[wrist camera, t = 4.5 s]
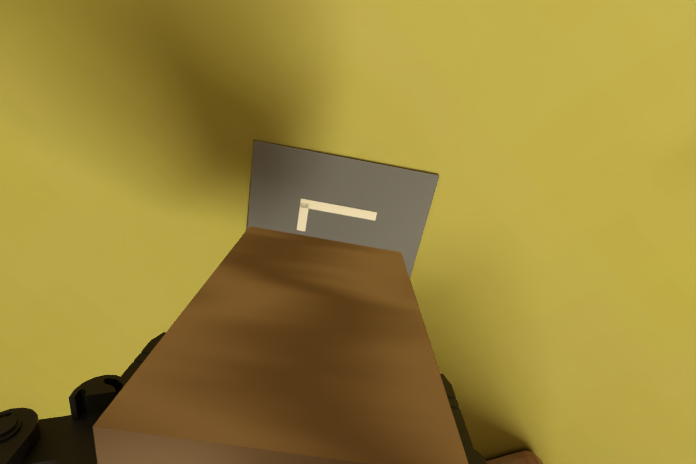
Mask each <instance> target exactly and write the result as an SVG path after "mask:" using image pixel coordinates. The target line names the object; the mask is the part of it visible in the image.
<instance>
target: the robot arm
mask: <svg viewBox="0 0 696 464" xmlns="http://www.w3.org/2000/svg"><path fill="white" fill-rule="evenodd" d="M165 334H166V333H165V332H163V333H162V334H160V335H159V336H157V337H156V338H154V339H152V340H151V341H150V342H149V343H148V344H147V346H146V347H145V348H144V349H143V350H142V352H141V354H139V355H138V357H137V358H136V359H135V360H134V363H132V364H131V365H130V366H129V367H128V369H127V370H126V371H125V372H124V374H123V375H122V376H121V377H120V376H117V375H103V376H99V377H95V378H92V379H90V380H88V381H86V382H84V383H82V384H81V385H80V386H79V387H77V388H76V389H75V390H74V391H73V392H72V394H71V395H70V397H69V402H70V408H71V414H72V415H68V416H63V417H55V418H48V419H41V420H38V415H37V414H36V413H35V412H34V411H33V410H32V409H27V408H14V409H9V410H6V411H3V412H0V464H98V463H97V455H96V448H95V440H94V433H93V425H94V424H95V423H96V421H97V420H98V419H99V418H100V416H101V415H102V414H103V412H104V411H105V410H106V409H107V407H108V406H109V405H110V404H111V402H112V401H113V400H114V398H115V397H116V396H117V395H118V393H119V392H120V391H121V390H122V388H123V387H124V386H125V384H126V383H127V382H128V381H129V379H130V378H131V377H132V376H133V374H134V373H135V372H136V370H137V369H138V368H139V367H140V365H141V364H142V363H143V362H144V360H145V359H146V358H147V357H148V355H149V354H150V353H151V351H152V350H153V349H154V348H155V346H156V345H157V344H158V343H159V341H160V340H161V339H162V337H163V336H164V335H165ZM440 376H441V379H442V382H443V385H444V388H445V391H446V395H447V398H448V401H449V404H450V407H451V410H452V413H453V417H454V420H455V423H456V426H457V429H458V432H459V435H460V439H461V442H462V445H463V448H464V451H465V454H466V457H467V461H468V464H487V462H486V460H485V459H484V458H483V457H482V456H481V455H480V454H479V453H478V452H477V451H475V450H474V448H473V446H472V443H471V440H470V437H469V434H468V431H467V429H466V426H465V423H464V420H463V417H462V414H461V411H460V410H459V405H458V403H457V400H456V397H455V394H454V391H453V388H452V385H451V384H450V383H449V381H448V380H447V379H446V377H445V376H444V375H443V374H440Z"/></svg>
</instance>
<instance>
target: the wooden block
mask: <svg viewBox="0 0 696 464" xmlns="http://www.w3.org/2000/svg"><path fill="white" fill-rule="evenodd" d="M486 462H487V464H543V463H542V461H541V460H540V459H539V458H538V457H537V456H536V455H535V454H534V453H533V452H532V451H521V452H517V453H514V454H510V455H506V456H503V457H499V458H496V459H492V460H488V461H486Z"/></svg>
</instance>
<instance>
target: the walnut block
mask: <svg viewBox="0 0 696 464" xmlns="http://www.w3.org/2000/svg"><path fill="white" fill-rule="evenodd" d="M93 433H94V440H95V448H96V455H97V463H98V464H468V461H467V457H466V454H465V451H464V448H463V445H462V442H461V439H460V435H459V432H458V429H457V426H456V423H455V420H454V417H453V413H452V410H451V407H450V404H449V401H448V398H447V395H446V391H445V388H444V385H443V382H442V379H441V376H440V373H439V369H438V366H437V363H436V360H435V357H434V354H433V351H432V347H431V344H430V341H429V338H428V335H427V332H426V329H425V325H424V322H423V319H422V316H421V313H420V310H419V307H418V303H417V300H416V297H415V294H414V291H413V288H412V285H411V281H410V278H409V275H408V272H407V269H406V266H405V263H404V259H403V256H402V253H401V252H397V251H391V250H385V249H379V248H373V247H368V246H362V245H356V244H350V243H344V242H339V241H333V240H327V239H321V238H316V237H310V236H304V235H298V234H292V233H287V232H281V231H275V230H269V229H264V228H258V227H252V226H250V227H249V228H248V229H247V231H246V232H245V233H244V234H243V236H242V237H241V238H240V239H239V241H238V242H237V243H236V245H235V246H234V247H233V248H232V250H231V251H230V252H229V253H228V255H227V256H226V257H225V259H224V260H223V261H222V262H221V264H220V265H219V266H218V267H217V269H216V270H215V271H214V273H213V274H212V275H211V276H210V278H209V279H208V280H207V281H206V283H205V284H204V285H203V287H202V288H201V289H200V290H199V292H198V293H197V294H196V295H195V297H194V298H193V299H192V301H191V302H190V303H189V304H188V306H187V307H186V308H185V309H184V311H183V312H182V313H181V315H180V316H179V317H178V318H177V320H176V321H175V322H174V323H173V325H172V326H171V327H170V329H169V330H168V331H167V332H166V334H165V335H164V336H163V337H162V339H161V340H160V341H159V343H158V344H157V345H156V346H155V348H154V349H153V350H152V351H151V353H150V354H149V355H148V357H147V358H146V359H145V360H144V362H143V363H142V364H141V365H140V367H139V368H138V369H137V370H136V372H135V373H134V374H133V376H132V377H131V378H130V379H129V381H128V382H127V383H126V384H125V386H124V387H123V388H122V390H121V391H120V392H119V393H118V395H117V396H116V397H115V398H114V400H113V401H112V402H111V404H110V405H109V406H108V407H107V409H106V410H105V411H104V412H103V414H102V415H101V416H100V418H99V419H98V420H97V421H96V423H95V424H94V425H93Z"/></svg>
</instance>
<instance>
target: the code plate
mask: <svg viewBox="0 0 696 464" xmlns="http://www.w3.org/2000/svg"><path fill="white" fill-rule="evenodd" d="M438 178H439V175H435V174H430V173H425V172H419V171H414V170H409V169H404V168H398V167H393V166H388V165H383V164H377V163H372V162H367V161H362V160H356V159H351V158H346V157H340V156H335V155H330V154H325V153H319V152H314V151H309V150H304V149H298V148H293V147H288V146H283V145H277V144H272V143H267V142H262V141H256V140H254V149H253V161H252V174H251V187H250V200H249V212H248V225H247V229H248V228H249V227H250V226H252V227H258V228H264V229H269V230H275V231H281V232H287V233H292V234H298V235H304V236H310V237H316V238H321V239H327V240H333V241H339V242H344V243H350V244H356V245H362V246H368V247H373V248H379V249H385V250H391V251H397V252H401V253H402V256H403V259H404V263H405V266H406V269H407V272H408V275H409V278H410V276H411V272H412V269H413V265H414V262H415V258H416V255H417V251H418V248H419V244H420V241H421V237H422V234H423V230H424V227H425V223H426V220H427V216H428V213H429V209H430V206H431V203H432V199H433V196H434V192H435V189H436V185H437V182H438Z"/></svg>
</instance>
